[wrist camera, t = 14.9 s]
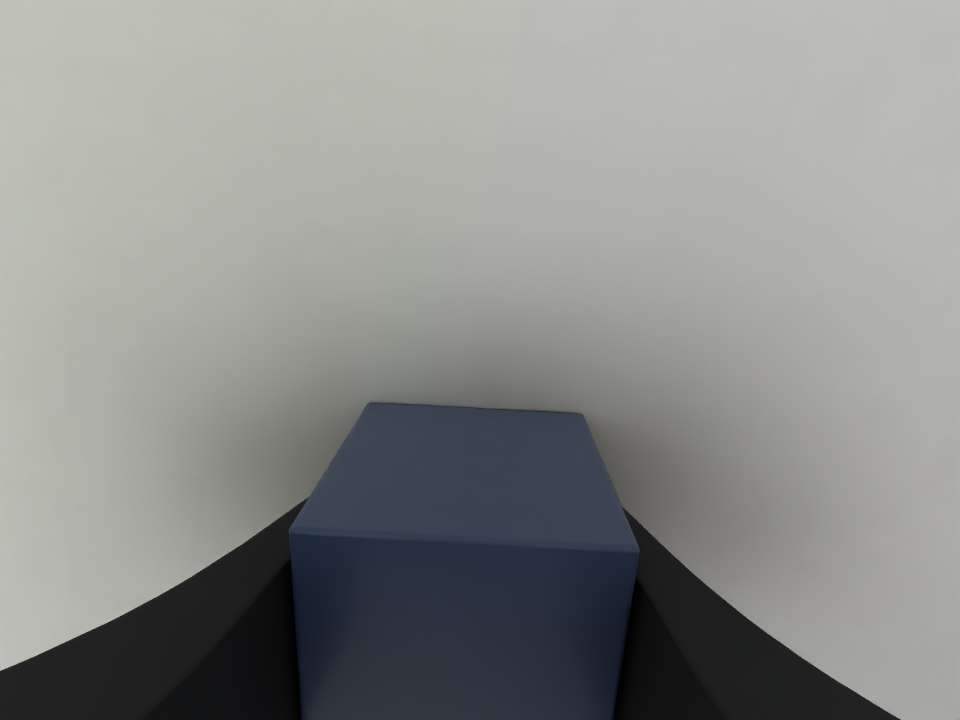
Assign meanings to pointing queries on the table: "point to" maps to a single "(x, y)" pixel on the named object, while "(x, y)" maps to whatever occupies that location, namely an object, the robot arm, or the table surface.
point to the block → (462, 570)
